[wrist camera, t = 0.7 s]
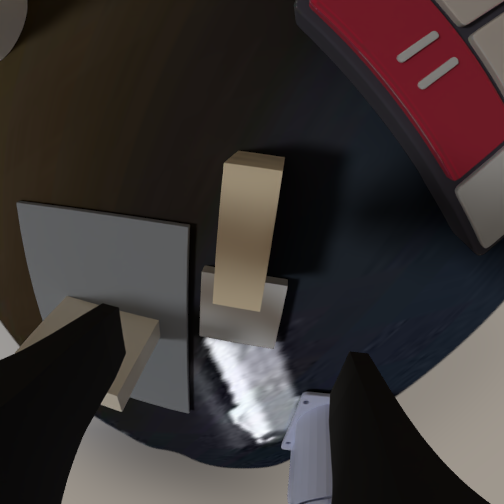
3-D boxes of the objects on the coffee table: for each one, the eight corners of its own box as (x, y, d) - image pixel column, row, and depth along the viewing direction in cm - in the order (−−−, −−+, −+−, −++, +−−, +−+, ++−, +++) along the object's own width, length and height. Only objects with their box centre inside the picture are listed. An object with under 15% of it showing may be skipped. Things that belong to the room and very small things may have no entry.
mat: (190, 410, 26) (188, 413, 26) (63, 369, 27) (61, 372, 27) (190, 224, 18) (188, 227, 18) (20, 200, 19) (16, 202, 18)
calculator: (446, -85, 5) (596, 153, 8) (423, -55, 9) (556, 142, 12) (287, -3, 9) (484, 266, 12) (292, 25, 13) (453, 235, 16)
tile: (160, 339, 22) (122, 413, 16) (71, 314, 22) (23, 371, 16) (158, 320, 21) (117, 396, 15) (67, 295, 21) (14, 352, 15)
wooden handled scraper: (274, 341, 21) (270, 380, 18) (202, 328, 21) (188, 364, 18) (310, 161, 16) (314, 176, 12) (213, 147, 16) (193, 159, 13)
